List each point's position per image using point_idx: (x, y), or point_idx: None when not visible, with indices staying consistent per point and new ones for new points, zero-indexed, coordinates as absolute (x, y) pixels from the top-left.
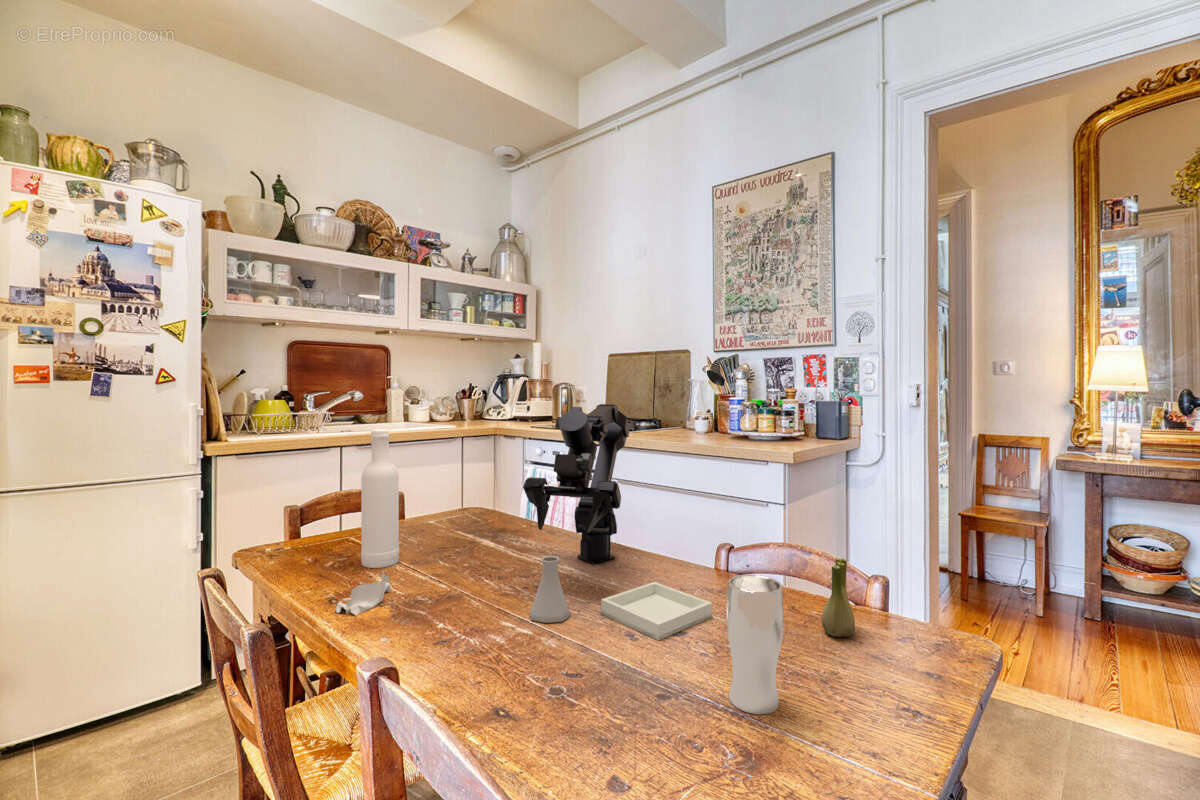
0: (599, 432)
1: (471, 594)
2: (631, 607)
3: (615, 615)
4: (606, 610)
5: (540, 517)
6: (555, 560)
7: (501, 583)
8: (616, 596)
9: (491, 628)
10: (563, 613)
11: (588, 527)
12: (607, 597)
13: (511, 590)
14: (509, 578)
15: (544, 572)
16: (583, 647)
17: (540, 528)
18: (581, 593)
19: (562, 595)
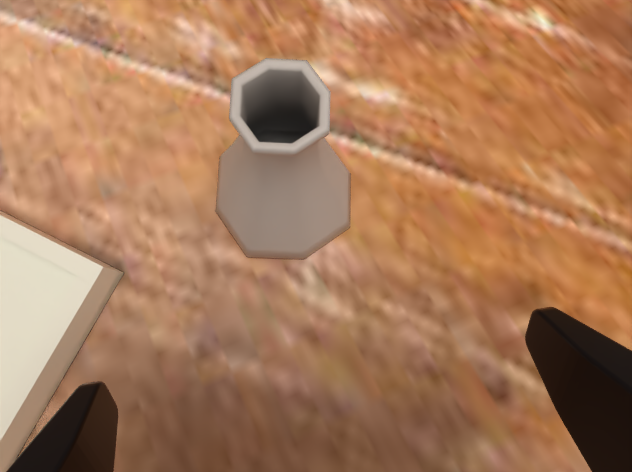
0: None
1: (629, 248)
2: (14, 342)
3: (49, 236)
4: (90, 257)
5: (611, 361)
6: (239, 88)
7: None
8: (51, 322)
9: (400, 51)
10: (221, 166)
11: (65, 405)
12: (85, 297)
13: None
14: None
15: (295, 99)
16: (98, 40)
17: (529, 322)
18: (266, 429)
19: (231, 174)
